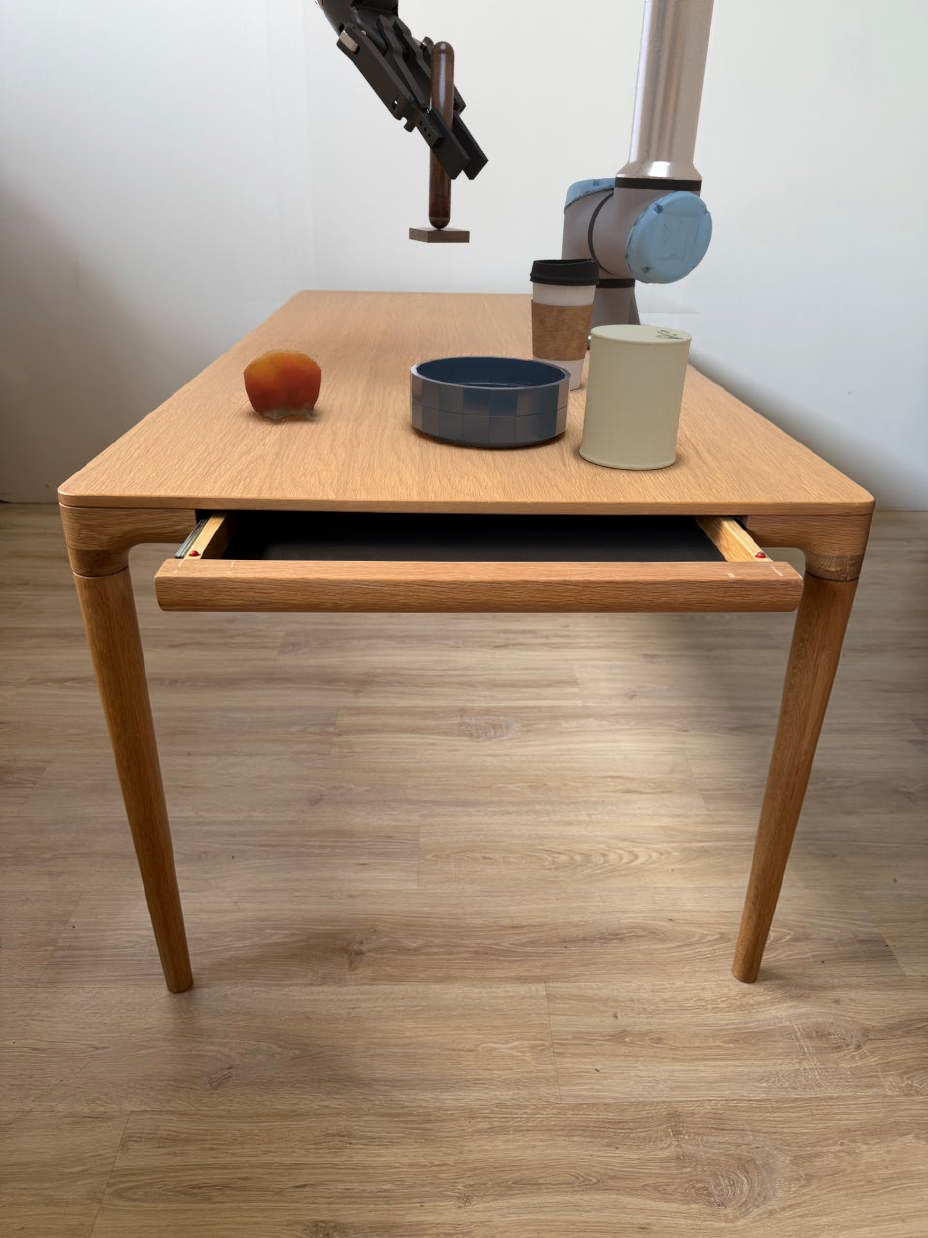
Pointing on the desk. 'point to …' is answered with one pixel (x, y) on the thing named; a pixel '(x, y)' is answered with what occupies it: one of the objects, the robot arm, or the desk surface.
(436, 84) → the stick
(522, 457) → the desk surface
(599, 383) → the can
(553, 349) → the coffee cup
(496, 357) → the bowl
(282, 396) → the fruit
